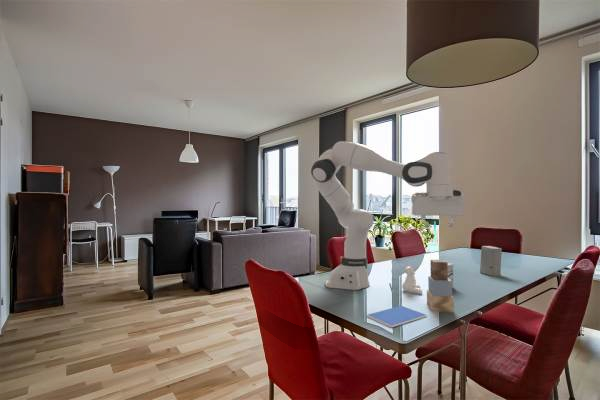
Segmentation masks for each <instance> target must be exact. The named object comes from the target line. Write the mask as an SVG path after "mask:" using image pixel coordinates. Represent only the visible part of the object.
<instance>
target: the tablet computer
mask: <svg viewBox="0 0 600 400" xmlns="http://www.w3.org/2000/svg"><path fill="white" fill-rule="evenodd" d="M366 317H367V318H368V319H371V320H373V321H374V322H378V323H379V324H381V325H384V326H386V327H389V328H394V327H398V326H401V325H405V324H408V323H412V322H413V321H419V320H422V319H424V318H428V315H427V314H425V313H422V312H419V311H417V310H413V309H412V308H409V307H406V306H404V305H399V306H398V305H397V306H395V307H392V308H388V309H387V308H386V309H384V310H380V311H377V312H373V313H368V314H367V315H366Z"/></svg>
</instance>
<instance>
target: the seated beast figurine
mask: <svg viewBox="0 0 600 400" xmlns="http://www.w3.org/2000/svg"><path fill="white" fill-rule="evenodd" d="M404 271H405V274H406V277H405V280H404V281H403V283H402V290H403V291H405V292H406V293H411V294H416V295H423V290H422V289H421V286H420V285H419V284H417V282H416V278H415V275H416V273H415V268H413V267H412V265H408V266H406V267H405V269H404Z"/></svg>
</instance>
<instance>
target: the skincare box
mask: <svg viewBox="0 0 600 400" xmlns="http://www.w3.org/2000/svg"><path fill="white" fill-rule="evenodd" d="M502 252H503V248H501V247H497V246H492V245H482V246H481V252H480V264H479V266H480V268H479V269H480V270H479V273H480V274H484V275H488V276H491V277H493V276H494V277H496V276H497V277H498V276H501V274H502V273H501V270H502V269H501V268H502V255H503V253H502Z"/></svg>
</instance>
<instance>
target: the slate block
mask: <svg viewBox="0 0 600 400" xmlns="http://www.w3.org/2000/svg"><path fill="white" fill-rule="evenodd" d="M427 277H428V280H427V282H428V290H429V292H430V293H431V294H432V295H433V296H447V297H452V296H453V288H452V281H451V280H450V279H449V278H448V280H434V279H433V278H431V275H428V276H427Z"/></svg>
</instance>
